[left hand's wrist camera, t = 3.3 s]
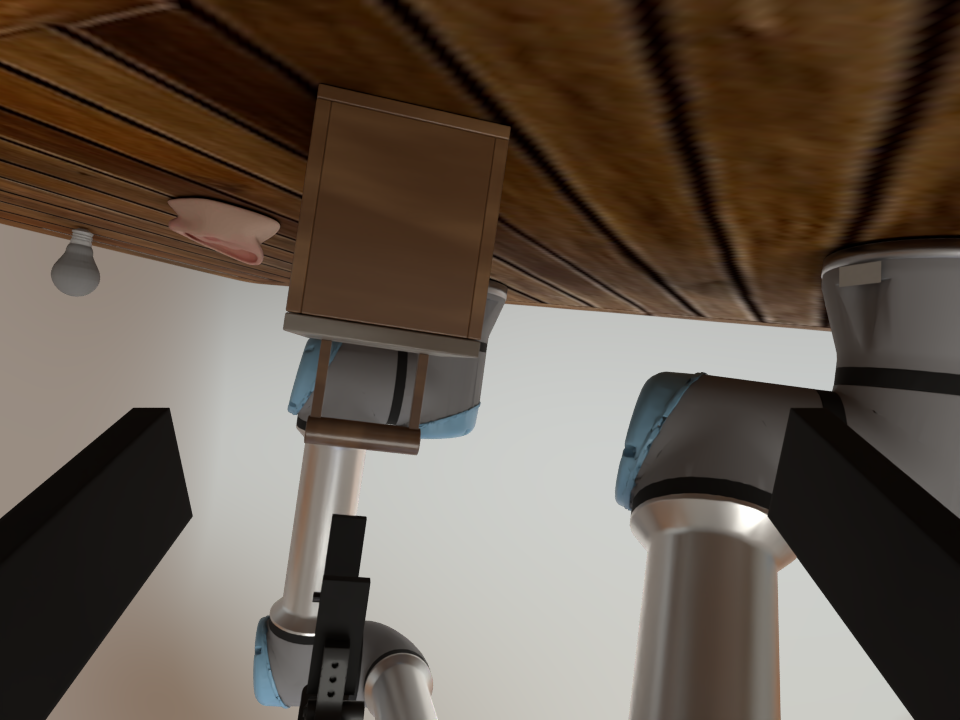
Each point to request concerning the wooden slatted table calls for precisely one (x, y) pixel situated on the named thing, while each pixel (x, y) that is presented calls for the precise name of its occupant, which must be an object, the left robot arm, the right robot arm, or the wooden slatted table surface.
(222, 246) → the anatomical model
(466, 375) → the right robot arm
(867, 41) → the wooden slatted table surface
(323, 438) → the lid
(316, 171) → the chest
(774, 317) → the wooden slatted table surface
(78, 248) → the light bulb
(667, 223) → the wooden slatted table surface
